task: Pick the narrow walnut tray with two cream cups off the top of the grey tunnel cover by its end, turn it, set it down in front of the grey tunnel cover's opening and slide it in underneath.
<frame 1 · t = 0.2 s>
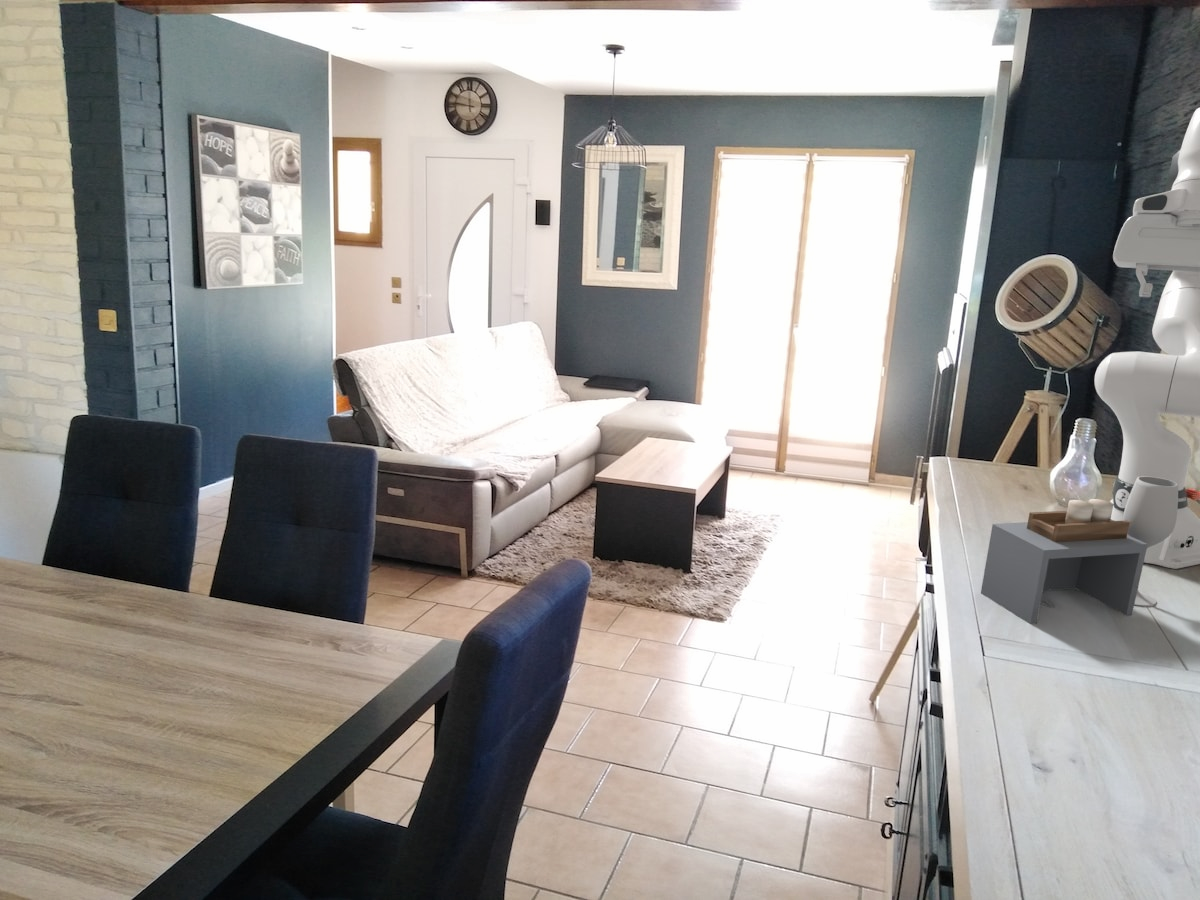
hand: (1180, 298, 135), 51 cm above the table, tool tilted 20°, fingers open, 8 cm apart
wineglass: (1131, 598, 155), on the table
grey tunnel cover: (1054, 603, 151), on the table
tray: (1076, 533, 148), point 12 cm above the table, touching grey tunnel cover
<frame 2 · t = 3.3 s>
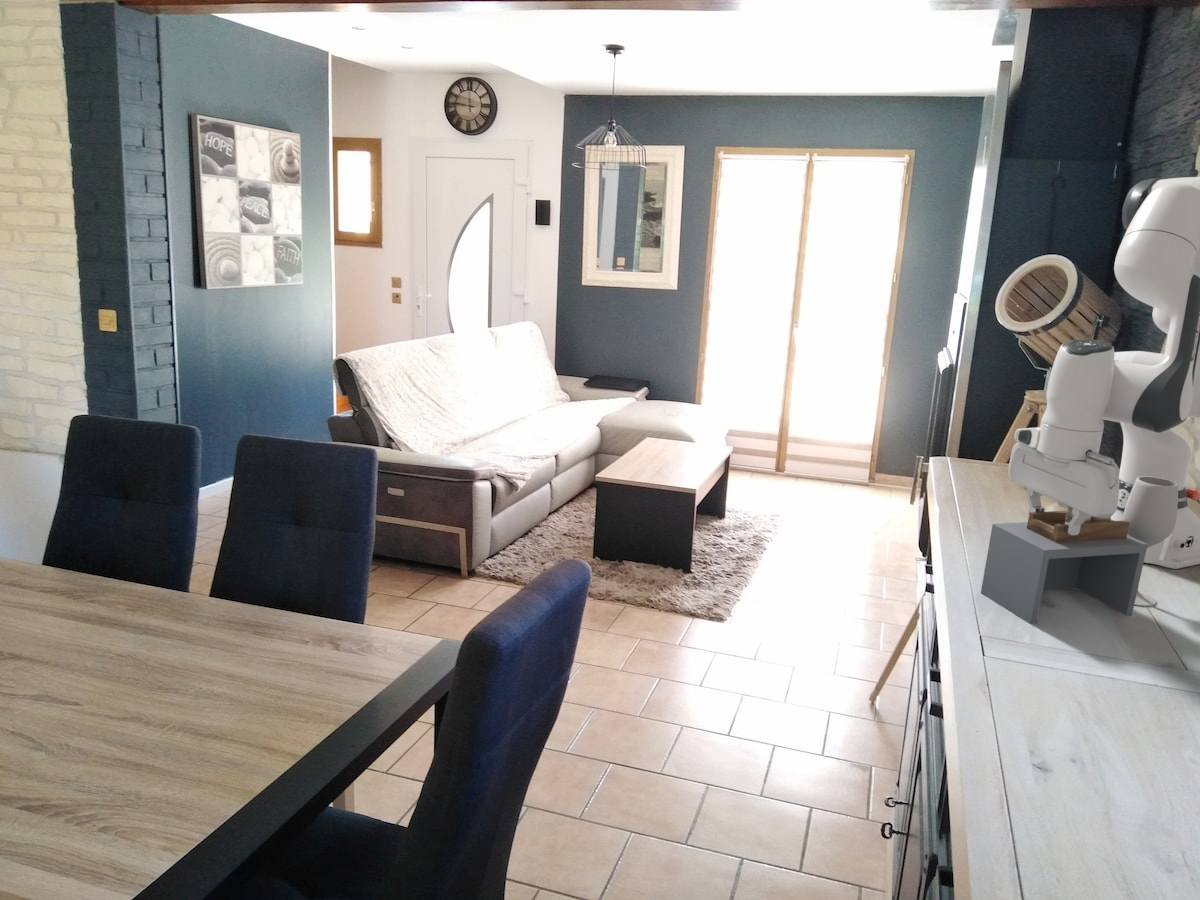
hand: (1052, 525, 146), 14 cm above the table, tool pointing down, fingers closed on tray, 6 cm apart
tray: (1076, 533, 148), point 12 cm above the table, touching grey tunnel cover, gripper
everything else where it was.
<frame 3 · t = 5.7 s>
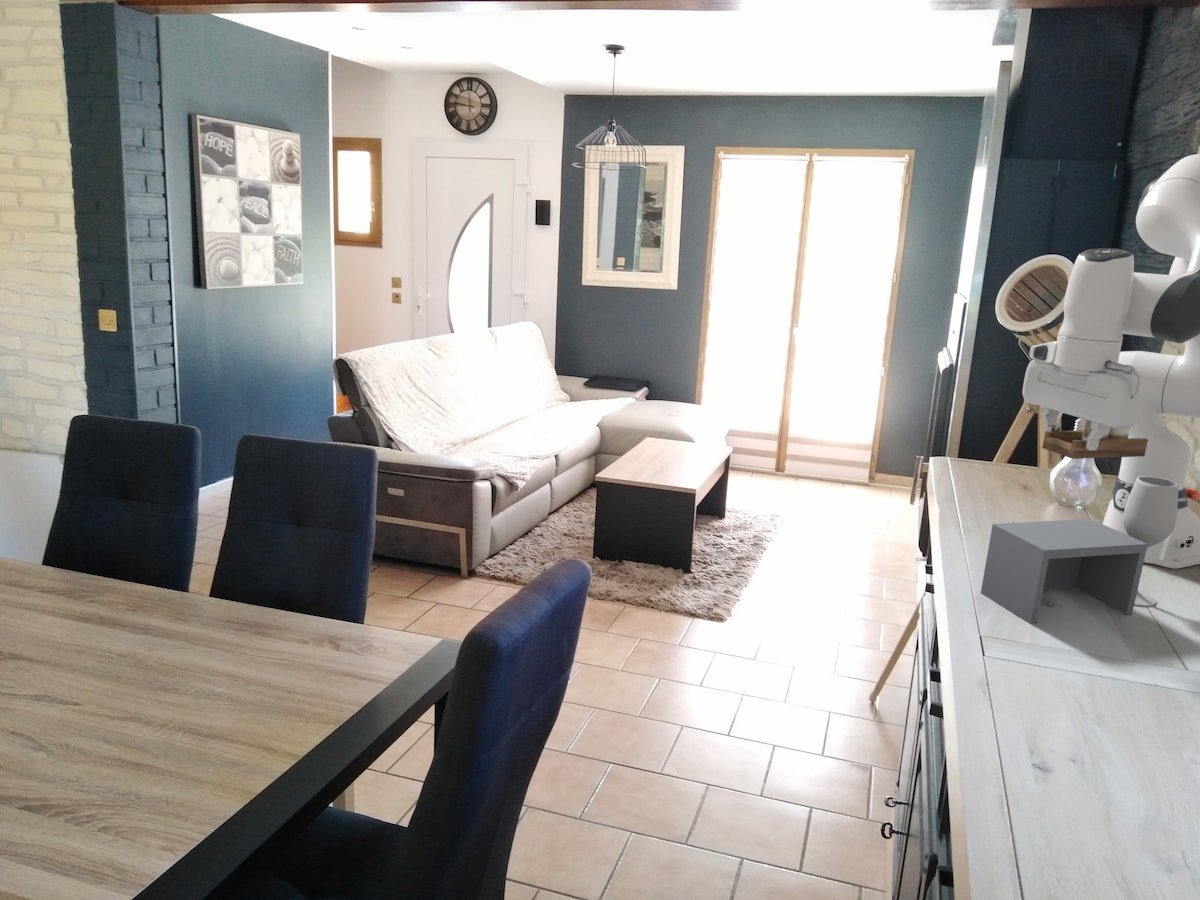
hand: (1069, 442, 143), 28 cm above the table, tool pointing down, fingers closed on tray, 6 cm apart
tray: (1093, 452, 144), point 26 cm above the table, touching gripper
everything else where it was.
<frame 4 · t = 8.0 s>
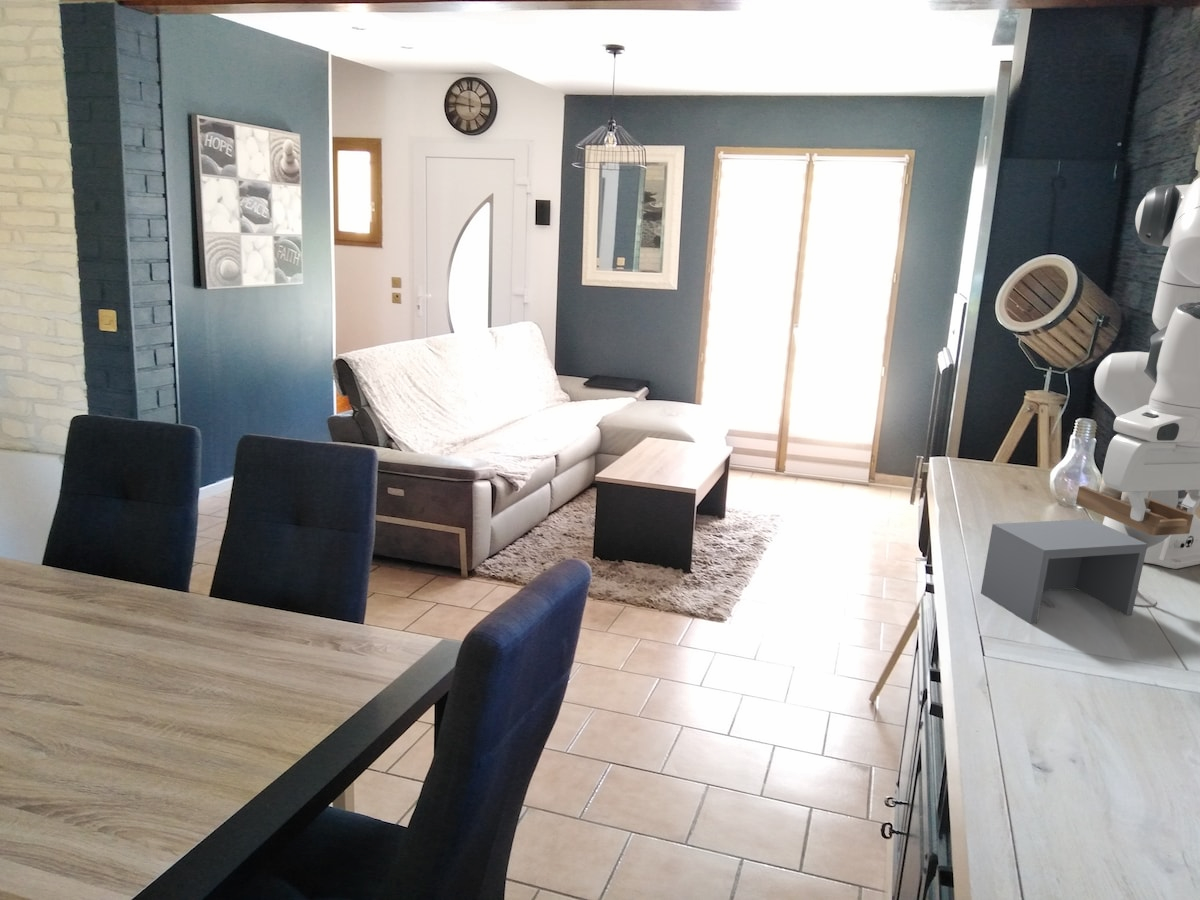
hand: (1161, 518, 127), 22 cm above the table, tool pointing down, fingers closed on tray, 6 cm apart
tray: (1129, 518, 132), point 20 cm above the table, touching gripper
everything else where it was.
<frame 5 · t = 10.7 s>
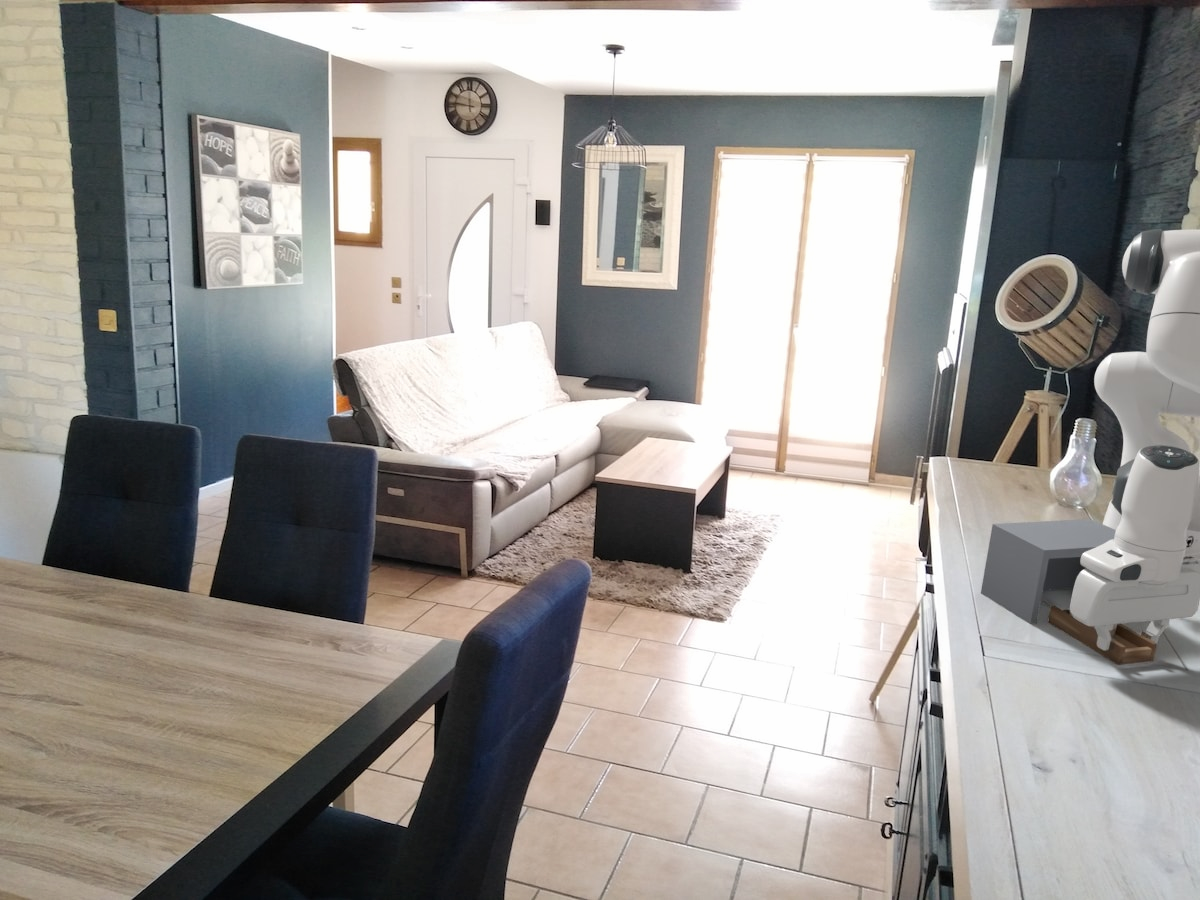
hand: (1126, 646, 133), 2 cm above the table, tool pointing down, fingers closed on tray, 6 cm apart
tray: (1098, 640, 138), on the table, touching gripper
everything else where it was.
when the fingers open (2 cm above the table, at t = 12.9 s): tray stays where it is, on the table.
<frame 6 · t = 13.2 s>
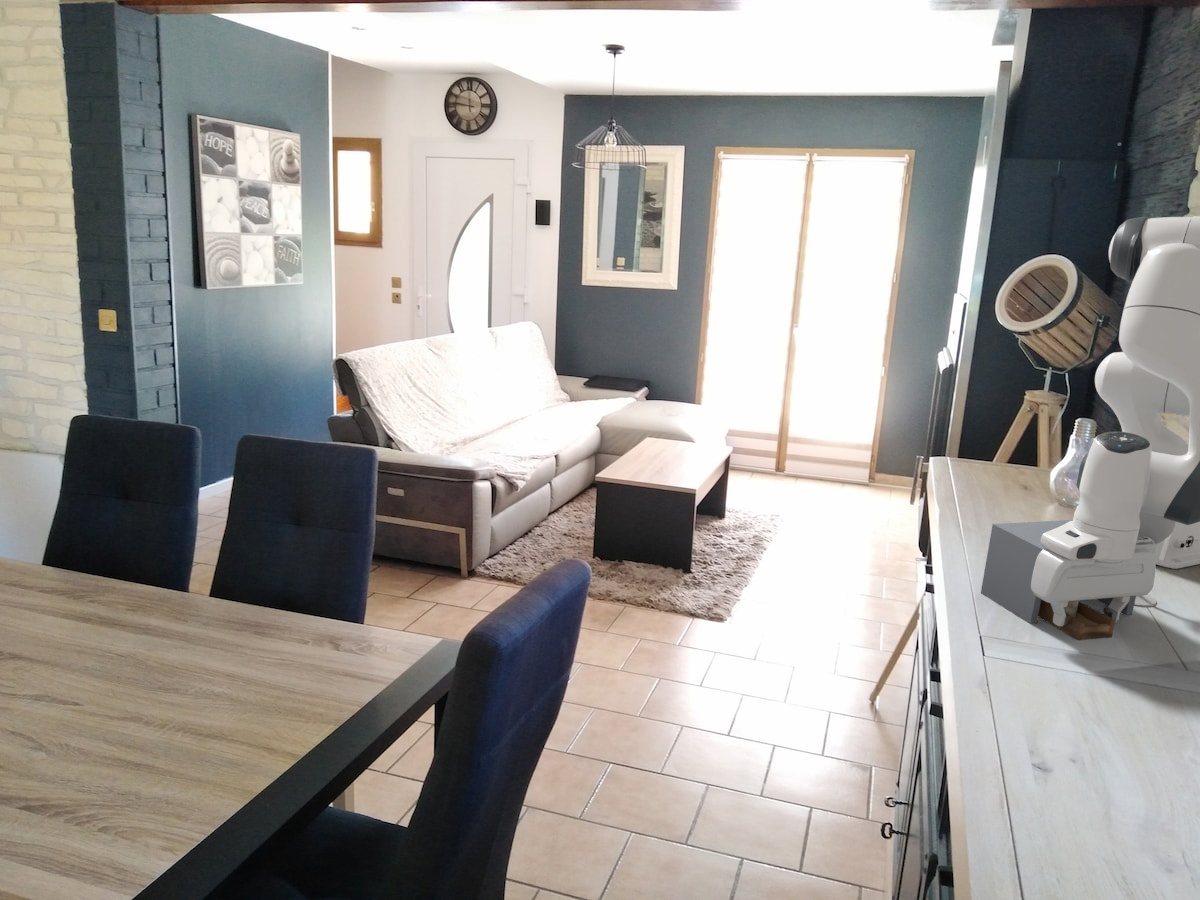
hand: (1085, 622, 140), 2 cm above the table, tool pointing down, fingers open, 8 cm apart
tray: (1061, 619, 145), on the table
everything else where it was.
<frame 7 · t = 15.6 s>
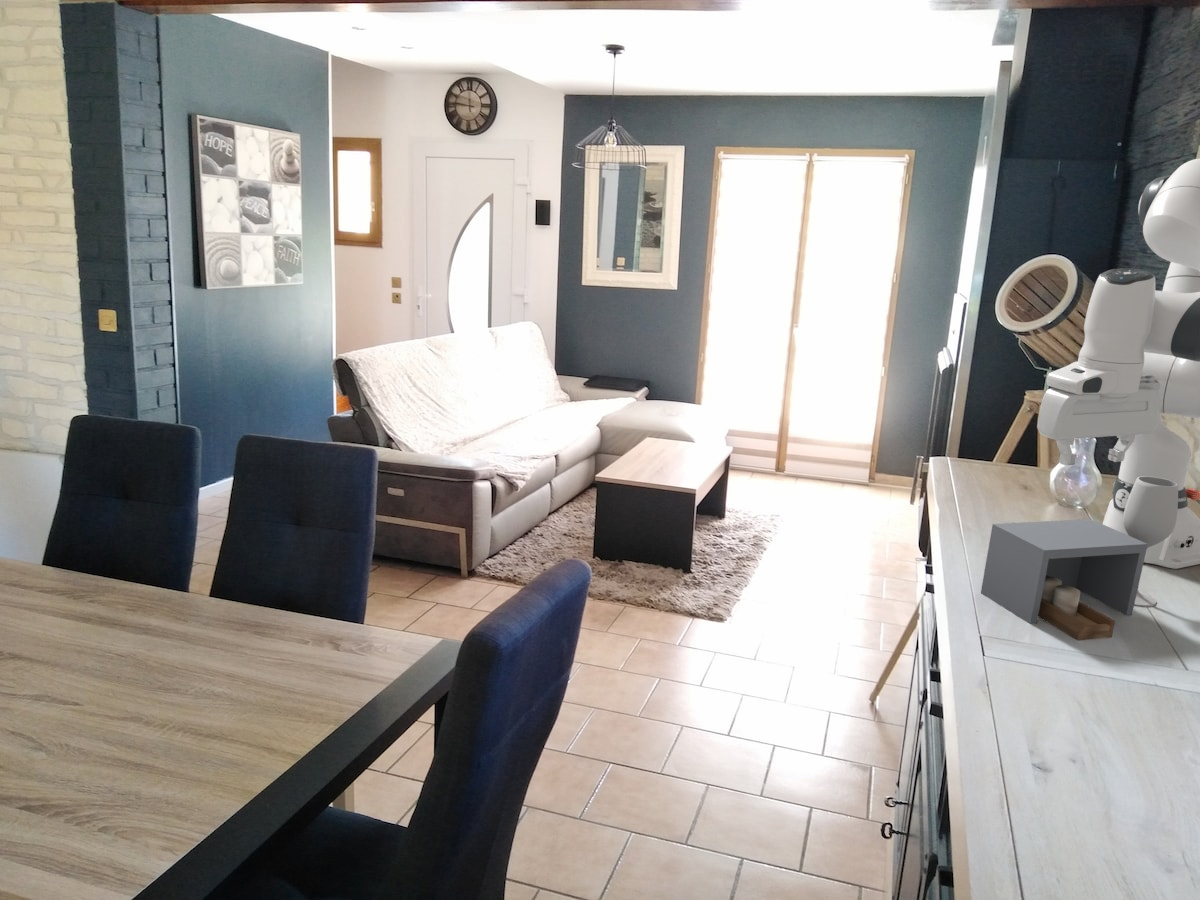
hand: (1091, 462, 142), 25 cm above the table, tool pointing down, fingers open, 8 cm apart
nothing on the table moved.
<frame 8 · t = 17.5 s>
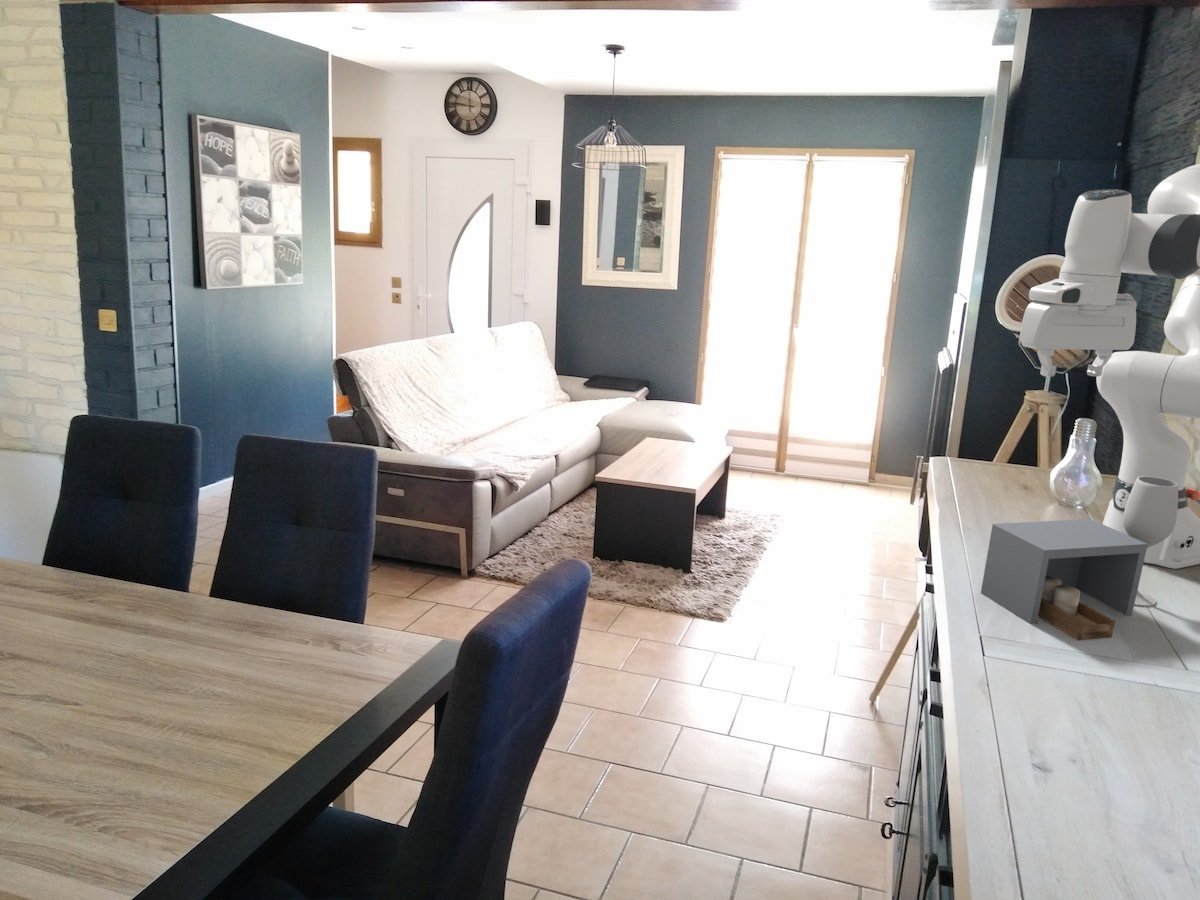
hand: (1070, 375, 150), 37 cm above the table, tool pointing down, fingers open, 8 cm apart
nothing on the table moved.
at the end: tray inside the target area (4.6 cm from its centre), on the table; tray tilted 0°; the gripper is holding nothing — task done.
